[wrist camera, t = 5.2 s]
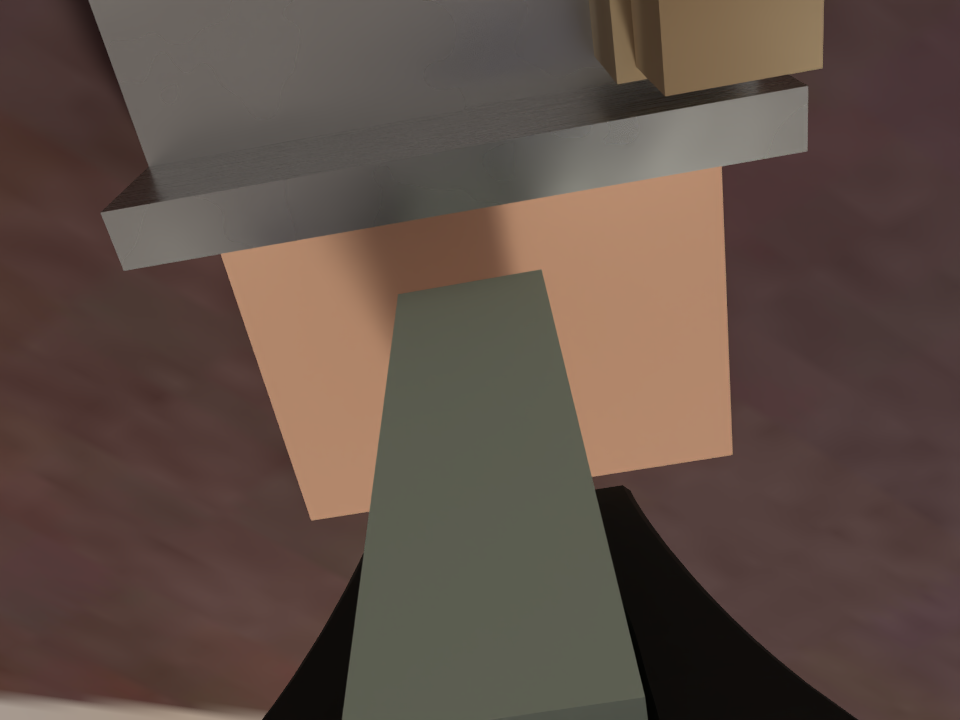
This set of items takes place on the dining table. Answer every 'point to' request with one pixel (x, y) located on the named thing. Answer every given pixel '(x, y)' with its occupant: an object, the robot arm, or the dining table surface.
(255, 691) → the dining table surface
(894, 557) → the dining table surface
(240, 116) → the rack
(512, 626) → the sage green tall pillar
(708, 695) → the robot arm
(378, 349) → the mat
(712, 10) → the offcut stack
